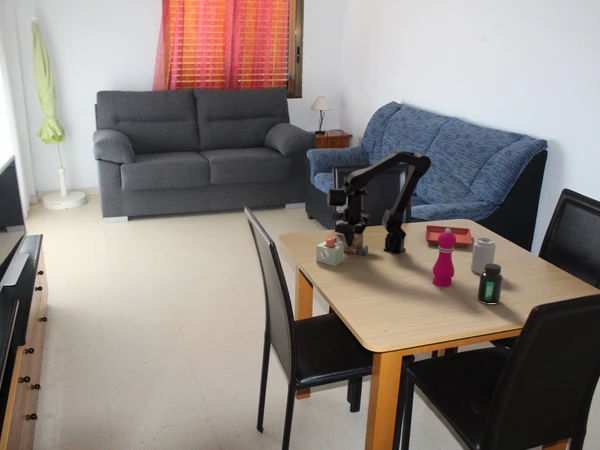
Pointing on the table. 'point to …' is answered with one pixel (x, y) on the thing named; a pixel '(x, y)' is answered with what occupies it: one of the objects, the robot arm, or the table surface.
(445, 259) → the pepper mill
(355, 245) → the block
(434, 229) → the plant saucer
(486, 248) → the can
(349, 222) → the robot arm
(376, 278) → the table surface
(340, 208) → the syrup box
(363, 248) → the rail
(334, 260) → the cabinet
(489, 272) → the supplement bottle
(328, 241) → the gauge button
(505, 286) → the table surface
